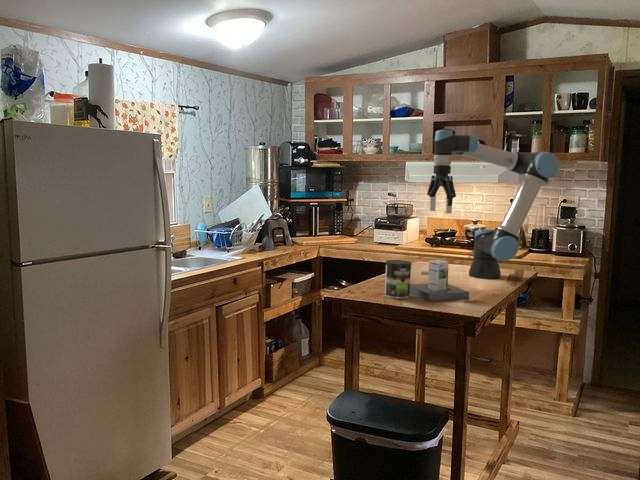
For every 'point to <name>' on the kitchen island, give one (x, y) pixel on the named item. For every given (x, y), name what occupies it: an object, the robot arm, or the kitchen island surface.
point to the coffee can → (397, 279)
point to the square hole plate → (438, 293)
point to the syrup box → (438, 275)
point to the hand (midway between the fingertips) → (440, 212)
